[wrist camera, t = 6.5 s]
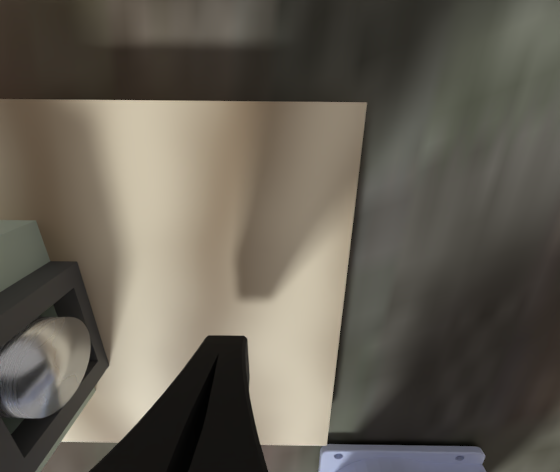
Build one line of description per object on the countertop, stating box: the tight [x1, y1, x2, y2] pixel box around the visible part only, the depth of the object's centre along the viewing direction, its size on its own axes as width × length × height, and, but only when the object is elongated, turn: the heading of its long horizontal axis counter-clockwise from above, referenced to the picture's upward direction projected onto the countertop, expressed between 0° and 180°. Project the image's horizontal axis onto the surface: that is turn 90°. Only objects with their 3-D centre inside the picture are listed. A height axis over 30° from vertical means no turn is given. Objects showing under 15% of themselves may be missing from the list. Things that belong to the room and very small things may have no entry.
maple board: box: [0, 99, 367, 446], centre depth 12 cm, size 22×16×2 cm
